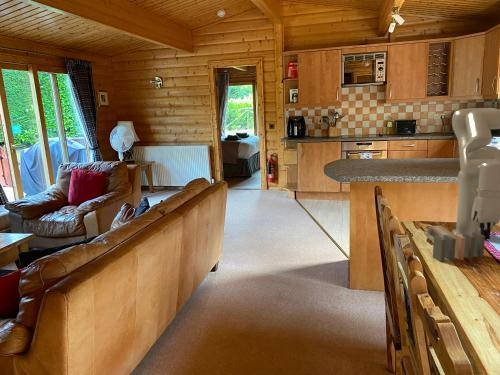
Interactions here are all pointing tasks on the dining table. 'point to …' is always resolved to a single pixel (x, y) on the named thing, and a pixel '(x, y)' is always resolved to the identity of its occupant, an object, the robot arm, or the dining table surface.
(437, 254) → the domino
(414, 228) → the dining table surface
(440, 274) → the dining table surface
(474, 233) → the domino
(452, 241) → the domino
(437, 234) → the packaged product
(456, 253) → the domino
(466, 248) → the domino
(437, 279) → the dining table surface
